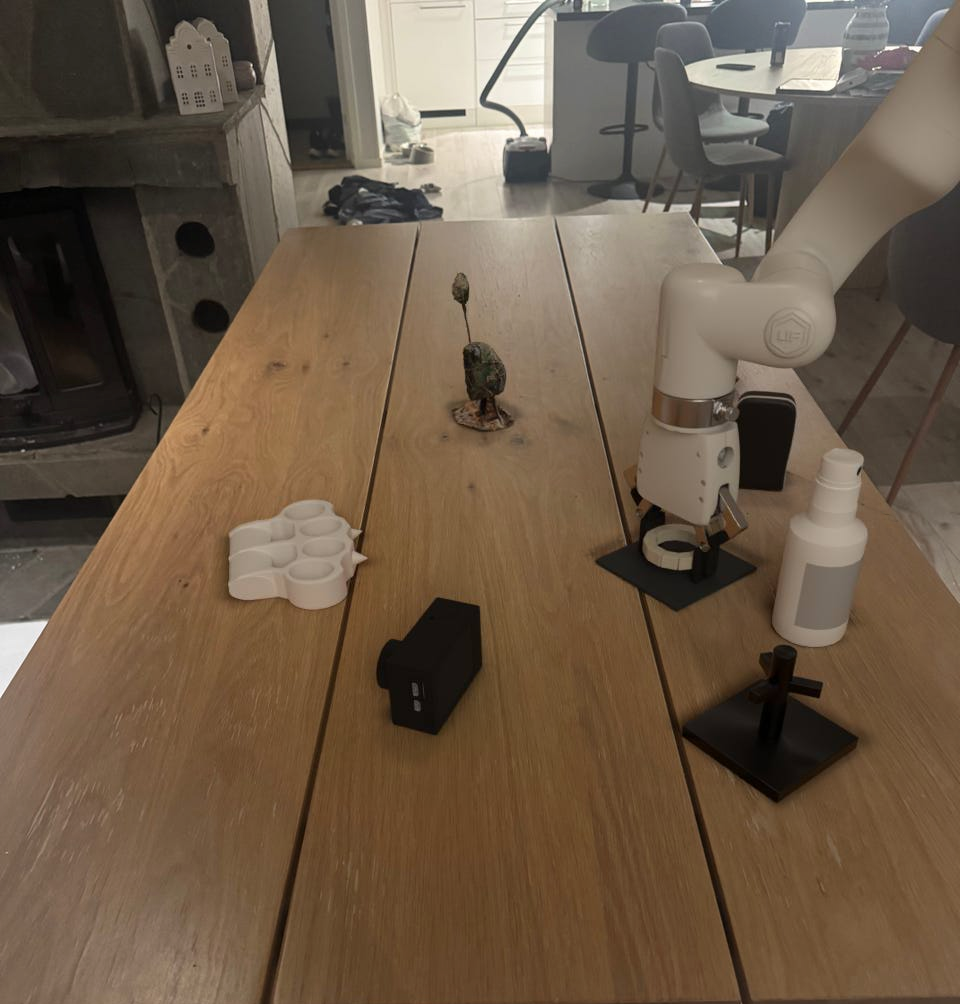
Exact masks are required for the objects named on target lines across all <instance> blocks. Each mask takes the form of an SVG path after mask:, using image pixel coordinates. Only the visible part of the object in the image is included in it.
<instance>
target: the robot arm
mask: <svg viewBox="0 0 960 1004" xmlns="http://www.w3.org/2000/svg"><path fill="white" fill-rule="evenodd" d="M958 183H960V0H955V1H954V2H953V3H952V4H951V6H950V7H949V8H948V10H947V12H946V13H945V14H944V15H943V17H942V18H941V19H940V21H939V22H938V24H937V25H936V27H934V30H933V31H932V32H931V34H930V35H929V36H928V38H927V39H926V41H925V43H924V44H923V45H922V46H921V48H920V49H919V50H918V52H917V54H916V55H915V56H914V58H913V59H912V60H911V62H910V63H909V64H908V66H907V67H906V69H905V70H904V71H903V73H902V74H901V76H900V77H899V79H897V81H896V83H895V84H894V86H893V87H891V89H890V91H889V92H888V93H887V95H886V96H885V97H884V99H883V100H882V102H880V104H879V106H878V107H877V108H876V110H875V111H874V112H873V114H872V115H871V117H869V119H868V121H867V122H866V123H865V125H863V127H862V128H861V130H860V131H859V132H858V133H857V135H856V137H854V138H853V140H852V141H851V142H850V143H849V144H848V146H846V148H845V149H844V151H843V152H842V153H841V155H840V156H839V158H838V159H837V160H836V162H834V164H833V166H832V167H831V168H830V169H829V170H828V171H827V173H826V174H824V176H823V177H822V179H821V180H820V181H819V182H818V184H817V185H816V186H815V187H814V188H813V190H811V192H810V194H809V195H808V196H807V197H806V198H805V200H804V201H803V203H802V204H801V205H800V206H799V208H798V209H797V211H796V212H795V213H794V215H793V216H792V217H791V219H790V221H789V222H788V223H787V225H786V226H785V227H784V229H783V230H782V231H781V233H780V234H779V236H778V237H777V238H776V240H775V241H774V243H773V244H772V245H771V247H770V248H769V250H768V251H767V252H766V254H765V255H764V257H763V258H762V259H761V261H760V263H759V265H758V266H757V268H756V269H755V271H754V273H753V275H752V277H751V279H750V281H747V280H746V278H745V276H744V275H743V273H742V272H741V271H740V270H738V269H737V268H735V267H732V266H729V265H726V264H722V263H717V262H716V263H715V262H692V263H691V262H690V263H685V264H682V265H678V266H676V267H673V268H672V269H670V270H669V271H668V272H667V273H666V274H665V275H664V277H663V278H662V281H661V285H660V290H659V299H658V315H657V328H656V341H655V342H656V343H655V357H654V358H655V359H654V370H653V383H652V384H653V385H652V396H651V407H650V408H649V409H648V410H647V414H646V417H645V420H644V425H643V427H642V432H641V438H640V443H639V449H638V450H639V451H638V457H637V462H636V463H635V464H632V465H631V466H630V467H628V468H626V469H625V470H623V477H624V479H625V481H626V483H627V486H628V488H629V489H630V491H629V493H630V496H631V498H632V500H633V502H634V504H635V506H636V509H635V514H636V516H637V518H638V519H640V521H639V535H638V540H639V547H638V551H639V552H641V553H642V554H644V553H643V539H644V537H645V535H646V533H647V532H648V531H650V530H652V529H654V528H656V527H658V526H662V525H666V512H669V513H670V514H672V515H674V516H677V518H678V517H679V518H681V519H682V520H685V521H686V522H689V523H691V524H693V525H692V526H694V529H695V532H696V536H697V540H698V544H699V547H697V548H695V549H694V552H693V561H692V571H691V581H693V582H694V583H698V582H700V581H702V580H704V579H706V578H708V577H710V576H712V575H714V574H715V573H716V570H717V566H718V558H719V550H720V548H721V545H723V544H726V543H727V542H729V541H731V540H733V539H735V538H736V537H737V536H739V535H740V534H741V533H743V532H745V531H746V530H747V529H748V528H749V522H748V521H747V519H746V517H745V516H744V514H743V512H742V511H741V509H740V507H739V506H738V497H739V489H740V488H739V472H740V445H739V433H738V427H737V423H736V422H734V421H735V420H736V419H737V418H738V416H739V409H738V408H736V406H734V398H735V397H734V396H735V389H736V383H735V381H736V375H737V372H738V365H739V361H743V362H747V363H752V364H756V365H760V366H764V367H770V368H775V369H797V368H801V367H804V366H807V365H809V364H811V363H813V362H815V361H817V360H818V359H819V358H820V357H822V355H823V354H824V353H825V352H826V351H827V350H828V349H829V347H830V345H831V343H832V342H833V339H834V336H835V333H836V327H837V313H836V304H835V297H834V296H835V295H836V293H837V292H838V291H839V289H840V288H841V287H842V285H843V284H844V283H845V282H846V280H847V279H848V278H849V277H850V275H851V274H852V273H853V271H854V270H855V269H856V268H857V267H858V265H859V264H860V262H861V261H863V259H864V258H865V257H866V255H867V254H868V253H869V252H870V251H871V250H872V248H873V247H874V246H875V245H876V244H877V243H878V242H879V241H880V239H882V238H883V237H884V236H885V235H886V234H887V233H888V232H889V231H890V230H891V229H892V228H893V227H895V226H896V225H897V224H899V223H900V222H901V221H902V220H904V219H906V218H907V217H909V216H911V215H913V214H915V213H916V212H919V211H921V210H924V209H926V208H928V207H930V206H932V205H934V204H935V203H937V202H938V201H940V200H941V199H943V198H944V197H945V196H947V195H948V194H949V193H950V192H952V190H954V189H955V187H956V186H957V185H958ZM664 510H665V511H664ZM723 520H724V521H725V526H724V522H723ZM708 525H710V528H711V532H712V534H711V535H710V534H709V530H708ZM709 536H710V537H709ZM662 545H663V542H662V543H660V544H658V546H659V547H660V546H662Z"/></svg>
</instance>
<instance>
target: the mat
mask: <svg viewBox="0 0 960 1004" xmlns="http://www.w3.org/2000/svg"><path fill="white" fill-rule="evenodd" d="M638 547H639V539H638V540H636V541H633V542H631V543H629V544H627V545H625V546H622V547H620V548H618V549H616V550H614V551H612V552H609V553H607V554H605V555H603V556H600V557H598V558H595V560H594V563H595V564H596V565H598V566H600V567H601V568H603V569H605V570H606V571H609V573H612V574H613V575H615V576H616V577H618V578H620V579H622V580H623V581H625V582H626V583H628V584H630V585H632V586H633V587H634V588H636V589H638V590H640V591H642V592H643V593H645V594H646V595H648V596H651V598H653V599H655V600H657V601H658V602H659V603H662V604H663V605H665V606H667V607H668V608H670V609H672V610H673V611H675V612H679V611H681V610H683V609H685V608H687V607H688V606H691V605H692V604H695V603H696V602H698V601H700V600H703V599H704V598H706V597H708V596H710V595H712V594H714V593H716V592H718V591H719V590H721V589H724V588H726V587H727V586H729V585H731V584H733V583H735V582H737V581H739V580H741V579H743V578H745V577H746V576H748V575H750V574H752V573H755V572H756V571H758V566H756V565H755V564H752V563H750V562H749V561H747V560H745V559H743V558H741V557H739V556H737V555H735V554H733V553H732V552H729V551H727V550H725V549H723V548H722V547H720V550H719V558H718V566H717V570H716V573H715V574H714V575H712V576H710V577H708V578H706V579H704V580H702V581H700V582H698V583H694V582H693V581H691V571H692V569H688V570H678V569H677V570H673V569H668V568H662V567H661V566H660V567H659V566H657V565H655V564H653V563H652V562H650V561H648V559H646V557H645V555H644V554H642V553H641V552H639V551H638ZM660 547H661V548H663V549H664V550H666V551H670V552H676V553H683V552H691V551H693V550H694V549H695V548H697V547H696V546H694V545H692V544H691V543H689V542H683V541H678V540H673V541H665V542H663V545H662V546H660Z"/></svg>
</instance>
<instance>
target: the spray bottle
mask: <svg viewBox="0 0 960 1004" xmlns="http://www.w3.org/2000/svg"><path fill="white" fill-rule="evenodd" d="M864 462H865V458H864V456H863V454H862V453H860V452H859V451H856V450H854V449H850V448H843V447H835V448H833V449H831V450H829V451H828V452H826V453H824V454H823V455H822V456H821V458H820V463H819V469H818V470H817V473H816V474H815V475H814V480H813V485H812V491H811V495H810V497H809V501H808V506H807V509H805V510H802V511H800V512H798V513H796V514H795V515H793V516H792V518H791V519H790V520H789V522H788V525H787V531H786V538H785V543H784V548H783V549H784V550H783V555H782V560H781V566H780V571H779V576H778V582H777V588H776V593H775V599H774V603H773V611H772V616H771V624H772V627H773V629H774V631H775V632H776V633H777V634H778V635H779V636H780V637H781V638H782V639H783V640H786V641H788V642H790V643H792V644H796V645H798V646H802V647H810V648H821V647H822V648H823V647H824V648H825V647H828V646H831V645H835V644H836V643H838V642H839V641H840V640H842V638H843V637H844V635H845V634H846V631H847V627H848V623H849V619H850V615H851V611H852V605H853V602H854V597H855V593H856V589H857V584H858V581H859V577H860V572H861V568H862V564H863V559H864V554H865V551H866V547H867V543H868V538H869V534H868V527H867V526H866V525H865V523H864V522H863V521H862V520H861V519H860V518H858V517H856V516H857V511H858V506H859V505H858V504H859V503H858V502H859V497H860V492H861V490H862V489H861V488H862V483H863V482H862V470H863V466H864Z"/></svg>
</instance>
